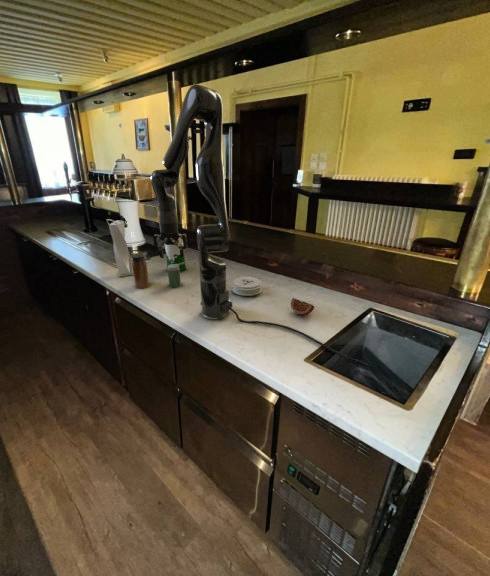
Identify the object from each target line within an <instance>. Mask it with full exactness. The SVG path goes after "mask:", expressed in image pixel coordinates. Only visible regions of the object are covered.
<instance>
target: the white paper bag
mask: <svg viewBox="0 0 490 576" xmlns="http://www.w3.org/2000/svg"><path fill="white" fill-rule="evenodd" d="M109 221H111V223H109ZM106 222H107V224H108V229H109V232H110V235H111V239H112V243H113V244H112V245H113V246H112V247H113V255H114V260H115V263H116V267H117V270H118V274H119V278H125V277H130V276H131V277H132V276H134V275H133V269H132V257H131V253H130V250H129V247H128V244H127V241H126V227H125V221H123V220H121V219H120V220H118V219H117V220H113V219H110V218H107V219H106Z"/></svg>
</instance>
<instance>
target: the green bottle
mask: <svg viewBox="0 0 490 576" xmlns="http://www.w3.org/2000/svg"><path fill="white" fill-rule="evenodd" d="M166 270H167V278H168V287H169V288H172V289H173V288H176V289H177V288H179V287H181V286H182V279H181V272H180V268H179V265H178V264H170V265H168V269H167V268H166Z"/></svg>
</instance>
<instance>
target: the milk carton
mask: <svg viewBox="0 0 490 576" xmlns="http://www.w3.org/2000/svg"><path fill="white" fill-rule="evenodd" d="M179 235H182V234H181V233H179ZM178 240H179V241H180V243H181V244H182V246H184V245H183V240H182V239H181V238H179V239H178ZM164 249H165V260H166V270H167V269H168V265H170V264H178V265H179V268H180V273H181V272H183V271H186V270H187V265H186V259H185V255H184V256H183V258H180V249H179V248H178V247H177V246H176V245H175V244H174V245H166V244H165V245H164Z"/></svg>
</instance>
